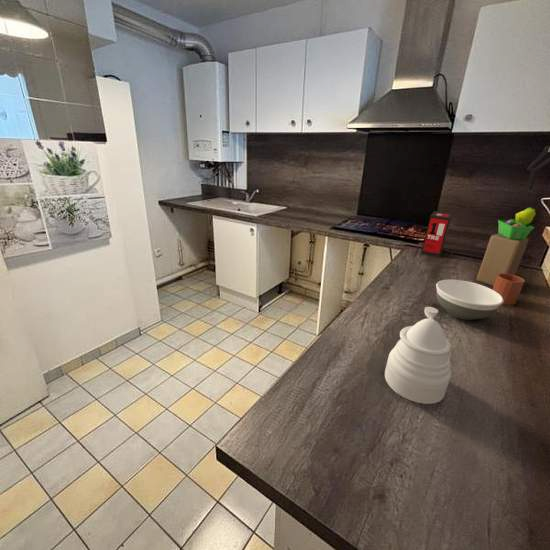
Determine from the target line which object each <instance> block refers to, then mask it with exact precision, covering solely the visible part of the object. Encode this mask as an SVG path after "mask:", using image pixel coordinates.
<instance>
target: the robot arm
mask: <svg viewBox="0 0 550 550" xmlns="http://www.w3.org/2000/svg"><path fill="white" fill-rule="evenodd" d="M548 153H550V145H546V146H545V147H544V149H543V151H542V152H541V153H540V154H539V155H538V157H536V158H535V160H534V161H533V162H531V164H529V166H528V167H526V170H527V171H528V172H530V175H529V178H528V181H529V182H530V181H531V182H530V185H529V188H528V190H530V191H532V189H533V186H534V184H535V181H536V179H537V175H538V171H539V170H540V169H542V168H543V167H544V166H546V165H547V164H550V157H549V158H547V159H545V160H544V161H543V162H541V163H540V164H539V165H537V164H538V162H540V161H541V160H542V158H543V157H544V156H545V155H546V154H548ZM536 165H537V166H536Z"/></svg>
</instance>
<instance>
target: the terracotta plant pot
mask: <svg viewBox="0 0 550 550" xmlns="http://www.w3.org/2000/svg"><path fill="white" fill-rule="evenodd" d="M525 282H526V281H525V278H523V277H522V276H521V277H520V276H518V275H516V274H515V275H511V274H505V273H500V274H498V275H497V277H496V280H495V283H494V286H492V288H491V289H492V290H494V291H496V292H497V293H498V294H500V295H501V296H502V298H503V303H502V304H501V305H506V306H513V305H516V303H517V301H518V298H519V296H520V293H521V291H522V289H523V287H524V284H525Z"/></svg>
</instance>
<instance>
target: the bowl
mask: <svg viewBox="0 0 550 550" xmlns="http://www.w3.org/2000/svg"><path fill="white" fill-rule="evenodd" d="M435 287H436V293H435V297H436V300H437V302H438V304H439V305H440V306H441V307H442V308H443V309H444V310H445V311H447V313H448V314H449V315H451V316H453V317H455V318H457V319H461V320H464V321H473V320H481V319H484V318H489V317H491V316H492V315H493V314H495V313H496V312H497V310H498V308H499V307H500V306H501V305H503V304H502V303H503V298H502V296H501V295H500V294H498V293H497V292H496V291H494V290H492V288H490V287H488V286H485V285H482V284H479V283H475V282H472V281H468V280H462V279H442V280H439V281H437V283H436V284H435Z"/></svg>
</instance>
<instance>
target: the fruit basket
mask: <svg viewBox="0 0 550 550" xmlns="http://www.w3.org/2000/svg"><path fill="white" fill-rule="evenodd" d="M536 214H537V213H536V209H535V208H533V207H527V208H525V209H524V210H521V211H519V212H517V213H515V218H514V219H512V218H510V219H509V220H505V219H498V220H497V222H498V233H500V234H501V235H504V236H505V237H507V238H509V239H521V240H524V239H525V238H526V237H527V238H528V235H530V233H531V231H533V230H534V228H535V227H534V226H532V225H530V224H531V223H532V222H533V221H534V217H536ZM498 233H497V234H498Z"/></svg>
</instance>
